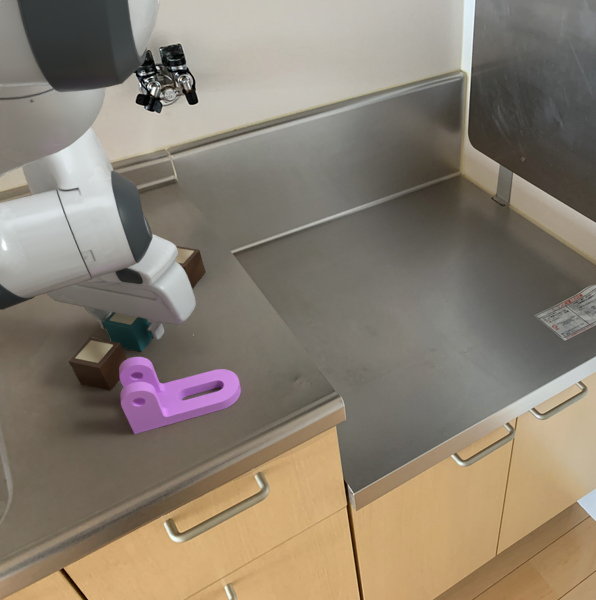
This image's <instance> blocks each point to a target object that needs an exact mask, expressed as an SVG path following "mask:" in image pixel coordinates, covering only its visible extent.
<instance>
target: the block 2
mask: <svg viewBox="0 0 596 600" xmlns="http://www.w3.org/2000/svg"><path fill="white" fill-rule="evenodd" d="M175 246H176V247H177V250H178V256H177V258H176V259H175V261H176V262H177V263H178V264H180V265H181V266H182V268H183V269H184V270H185V272H186V274H187V276H188V279H189V281H190V284H191V287H192V290H193V289H194V287H195V286H196V285H197V284H198V283H199V282H200V280H201V279H202V278H203V276H204V275H205V274H206V269H205V265H204V261H203V258H202V254H201V250H200V249H197V248H191V247H185V246H179V245H175Z"/></svg>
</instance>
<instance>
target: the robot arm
mask: <svg viewBox="0 0 596 600" xmlns="http://www.w3.org/2000/svg"><path fill="white" fill-rule="evenodd" d="M160 4H161V0H0V178H2V177H3V176H5V175H8V174H9V173H12V172H14V171H15V170H18V169H21V168H22V172H23V175H24V178H25V181H26V184H27V186H28V189H29V192H30V193H31V195H27V196H24V197H23V196H22V197H18V198H15V199H10V200H7V201H2V202H0V311H4V310H6V309H9V308H11V307H14V306H16V305H19V304H22V303H24V302H27V301H30V300H33V299H34V298H35V297H38V296H42V295H44V294H46V295H47V296H49V298H50V299H52V300H53V301H55V302H57V303H62V304H67V305H72V306H77V307H83V308H84V309H85V311H86V312H87V313H89V315H91V316H92V317H93V318H94V319H95V320H97V322H98V324H99V326H100V328H101V329H104V330H106V328H105V326H104V324H103V322H104V321H105V320H106V319H107V318H108V317H109V316H110V315H111V314H112V313H113V312H114V313H119V314H124V315H129V316H134V317H140V318H145V319H147V320H148V322H150V324H149V326H147V327H146V329H145V331H146V333H147V334H148V335H147V336H148V337H149V338H153V339H155V340H160V339H161V338H162V336H163V335H164V333H165V329H164V326H163V325H164V324H163V323H165V324H171V325H176V326H181V325H183V324H184V323H185V322H186V321H187V320H188V319H189V317H190V316H191V315H192V313H193V312H194V310H195V309H196V306H197V301H196V297H195V294H194V291H193V289H192V287H191V284H190V281H189V279H188V276H187V274H186V272H185V270H184V269H183V268H182V266H181V265H180V264H178V263H177V262H176V261H175V259H176V258H177V256H178V250H177V247H176V246H177V245H176V244H175V243H173V242H171V241H169V240H167V239H165V238H162V237H160V236H159V235H156V234H154V233H153V231H152V229H151V226H150V223H149V221H148V220H147V218H146V216H145V213H144V212H143V206H142V202H141V201H142V200H141V197H140V192H139V188H138V187H137V185H136V183H135V182H133V181H132V180H130V179H129V178H127V177H125V176H124V175H122V174H121V173H119V172H117V171H115V170H114V167H113V165H112V162H111V160H110V158H109V156H108V154H107V152H106V150H105V147H104V146H103V144H102V142H101V139H100V138H99V136H98V134H97V132H96V131H95V129H94V127H93V124H94V123H95V122H96V120H97V118H98V116H99V115H100V112H101V110H102V108H103V105H104V102H105V101H104V100H105V97H106V91H107V90H106V88H110V87H114V86H118V85H123V84H124V82H126V81H127V80H128V79H129V78H130V77H131V76H132V75H133V74H134V73H135V72H136V71H137V70H138V69H139V68H141V66H142V65H144V63H145V60H146V57H147V51H148V46H149V43H150V42H151V40H152V36H153V35H154V31H155V28H156V25H157V21H158V17H159V12H160V6H161V5H160ZM153 339H152V340H153Z"/></svg>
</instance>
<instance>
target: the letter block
mask: <svg viewBox="0 0 596 600" xmlns="http://www.w3.org/2000/svg"><path fill="white" fill-rule="evenodd" d="M111 313H112V314H111V315H110V316H109V317H108V318H107V319H106V320H105V321H104V322H103V324H104V326H105V328H106V329H105V331H106V333H107V335H108V337H109V339H110V340H109V341H112V342H117V343H120V344H121V347H122V349H126V350H130V351H135V352H140V353H142V352H143V351H144V350H145V349H146V347H148V345H149V344H150V343H151V341H152V340H153V338H149V337H148V336H147V335H148V334H147V333H146V331H145V329H146V327H147V326H149V324H150V322H148V320H147V319H145V318H140V317H134V316H129V315H124V314H119V313H114V312H111Z"/></svg>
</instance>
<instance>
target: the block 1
mask: <svg viewBox="0 0 596 600" xmlns="http://www.w3.org/2000/svg"><path fill="white" fill-rule="evenodd" d="M127 359H128V358H127V356H126V354H125V351H124V348H122V347H121V344H120V343H117V342H112V341H111V340H107V339H103V338H102V339H101V338H98V337H97V338H96V337H92V336H89V338H88V339H87V340H86V341H85V342H84V343H83V344H82V345H81V347H79V349H78V350H77V351H76V352H75V353H74V354H73V355H72V356H71V357H70V358H69V360H68V363H69V365H70V368H71V370H72V371H73V373H74V375H75V377H76V379H77V381H78V382H79V384H80V385H82V386H85V387H90V388H94V389H99V390H103V391H108V392H111V391H112V390H113V388H114V387H116V386H117V385H116V384H118V382H119V381H120V376H119V367H120V365H121V363H122V362H123V361H125V360H127Z"/></svg>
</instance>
